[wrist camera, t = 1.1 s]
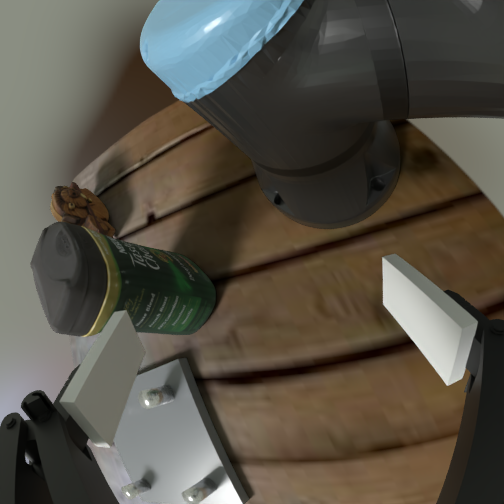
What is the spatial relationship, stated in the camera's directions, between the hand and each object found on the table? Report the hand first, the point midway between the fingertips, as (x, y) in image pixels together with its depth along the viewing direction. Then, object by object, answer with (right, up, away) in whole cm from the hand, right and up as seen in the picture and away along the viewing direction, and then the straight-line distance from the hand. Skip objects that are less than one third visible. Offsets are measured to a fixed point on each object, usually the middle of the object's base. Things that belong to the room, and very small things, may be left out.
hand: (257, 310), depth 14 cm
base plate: (-12, -23, +19) cm, 32 cm away
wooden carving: (-25, +9, +32) cm, 41 cm away
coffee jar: (-8, -2, +21) cm, 22 cm away
